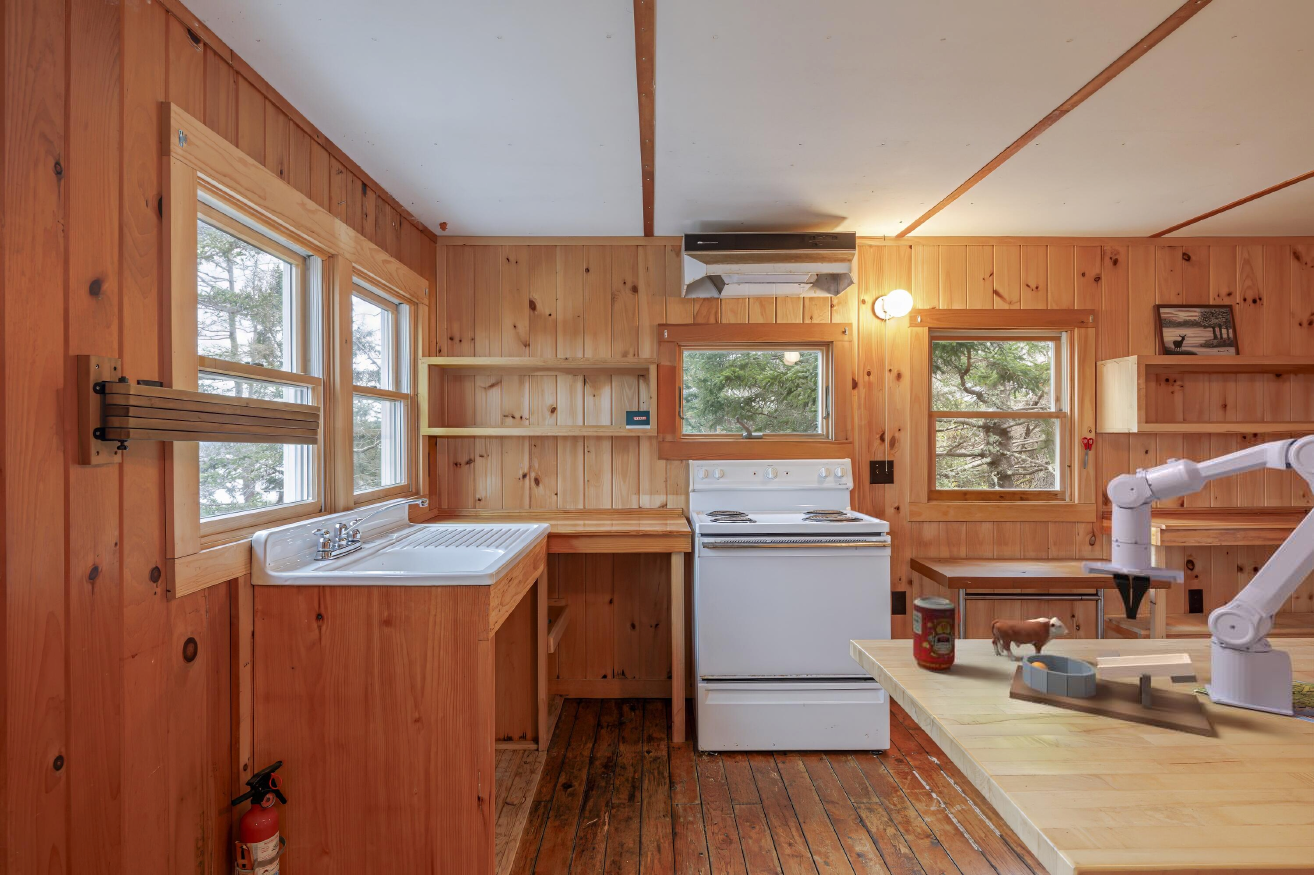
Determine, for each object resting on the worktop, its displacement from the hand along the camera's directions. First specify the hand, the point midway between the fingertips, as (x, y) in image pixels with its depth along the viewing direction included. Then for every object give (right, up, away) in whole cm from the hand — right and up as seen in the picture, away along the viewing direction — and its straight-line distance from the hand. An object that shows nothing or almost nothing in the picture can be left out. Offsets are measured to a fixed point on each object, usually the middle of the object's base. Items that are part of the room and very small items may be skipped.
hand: (1131, 618), depth 116 cm
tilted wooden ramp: (-6, -5, -12) cm, 14 cm away
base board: (-13, -10, -12) cm, 20 cm away
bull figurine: (-14, -10, +8) cm, 19 cm away
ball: (-20, -7, -7) cm, 23 cm away
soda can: (-34, -10, +3) cm, 35 cm away
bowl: (-18, -10, -8) cm, 22 cm away
